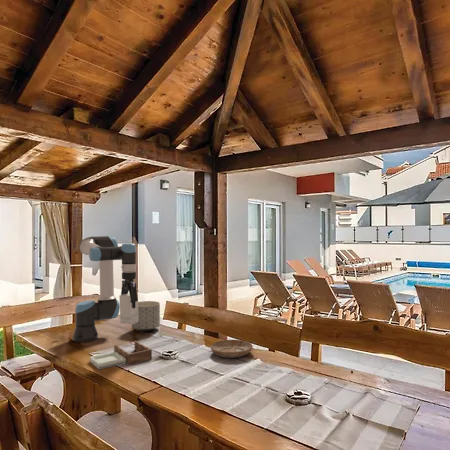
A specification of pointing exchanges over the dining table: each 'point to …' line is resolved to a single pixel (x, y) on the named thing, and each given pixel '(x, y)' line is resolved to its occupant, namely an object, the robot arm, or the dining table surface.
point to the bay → (140, 355)
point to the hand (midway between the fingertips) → (129, 312)
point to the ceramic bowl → (231, 348)
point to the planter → (148, 316)
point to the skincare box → (127, 310)
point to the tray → (107, 360)
